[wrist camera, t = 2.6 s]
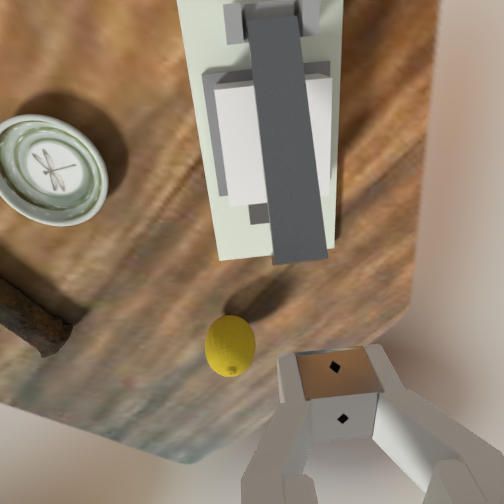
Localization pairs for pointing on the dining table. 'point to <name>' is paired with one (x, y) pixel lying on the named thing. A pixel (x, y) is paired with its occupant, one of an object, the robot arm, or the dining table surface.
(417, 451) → the robot arm
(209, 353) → the lemon
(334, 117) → the board
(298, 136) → the strap
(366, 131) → the dining table surface
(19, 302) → the dark brown long bar
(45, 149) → the saucer
